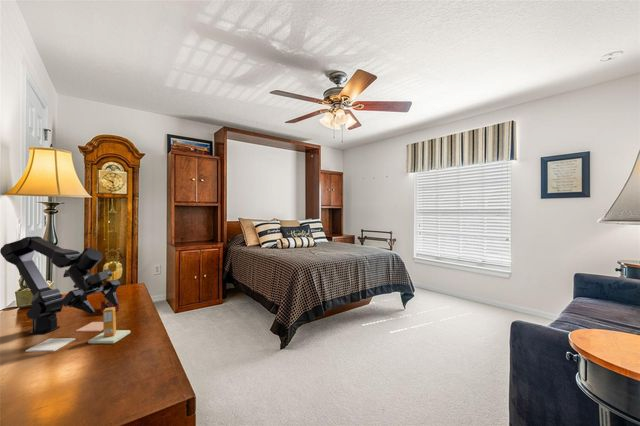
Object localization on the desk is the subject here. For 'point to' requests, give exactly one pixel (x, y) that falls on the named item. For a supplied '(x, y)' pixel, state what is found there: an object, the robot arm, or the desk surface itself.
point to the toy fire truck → (108, 305)
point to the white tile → (50, 344)
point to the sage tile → (111, 339)
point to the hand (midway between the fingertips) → (106, 309)
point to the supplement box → (109, 322)
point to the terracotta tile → (92, 327)
